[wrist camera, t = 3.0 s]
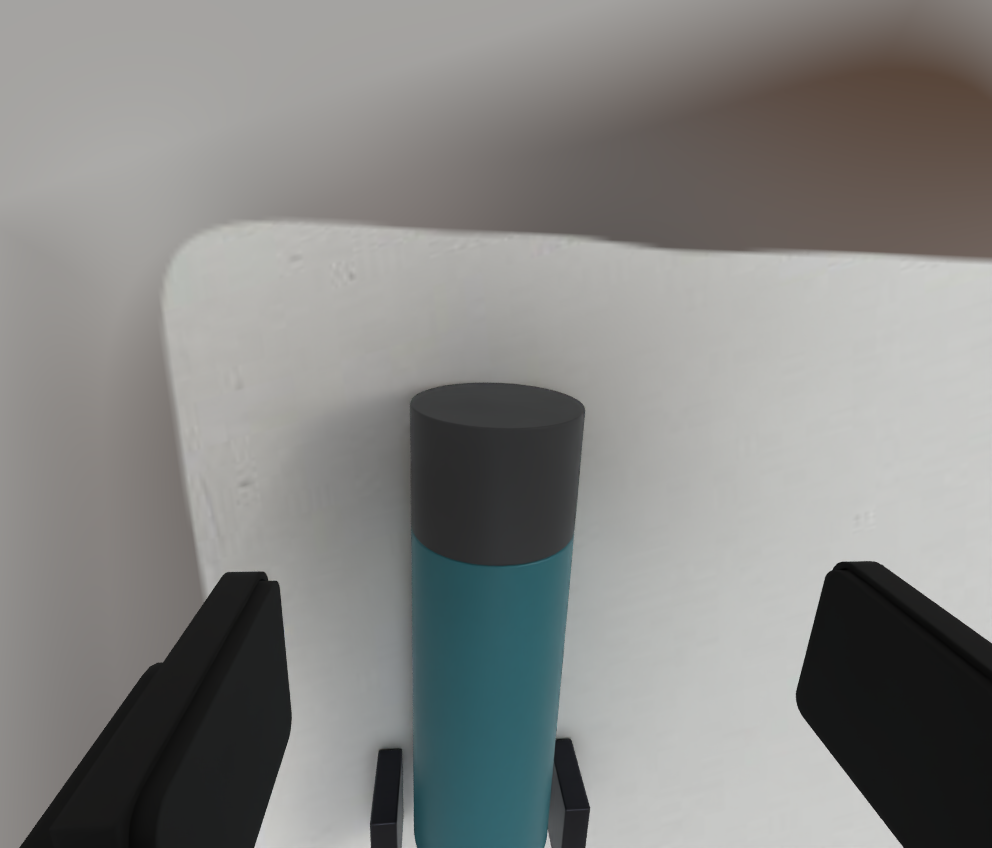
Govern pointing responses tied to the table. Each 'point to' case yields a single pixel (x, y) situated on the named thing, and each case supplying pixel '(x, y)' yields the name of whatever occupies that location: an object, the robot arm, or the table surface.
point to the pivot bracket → (564, 810)
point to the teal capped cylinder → (489, 606)
